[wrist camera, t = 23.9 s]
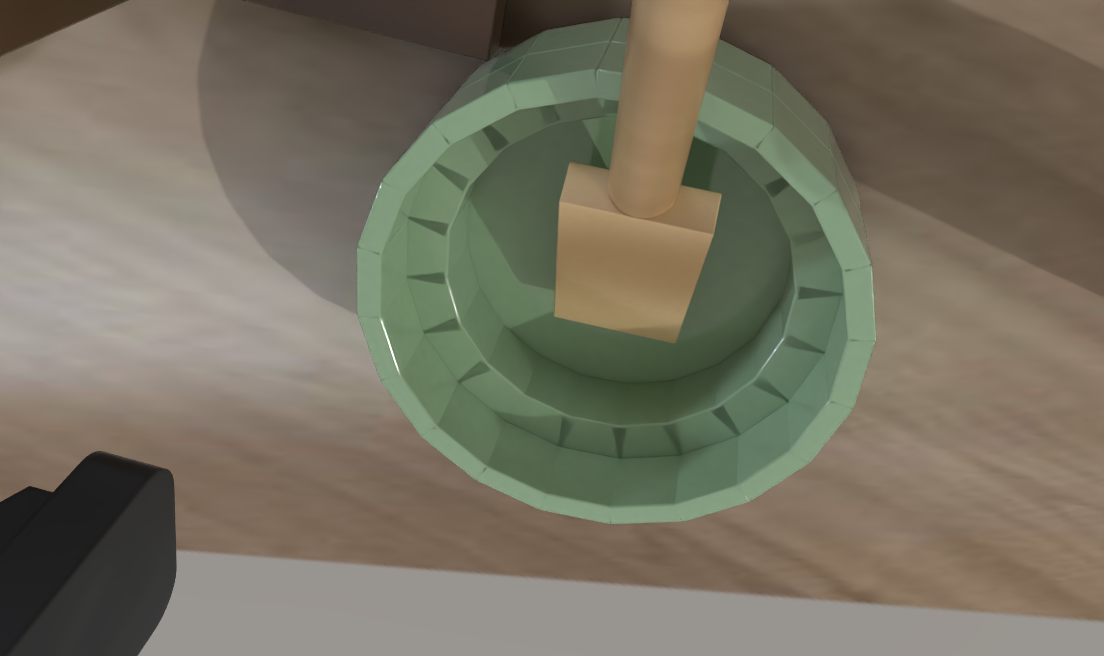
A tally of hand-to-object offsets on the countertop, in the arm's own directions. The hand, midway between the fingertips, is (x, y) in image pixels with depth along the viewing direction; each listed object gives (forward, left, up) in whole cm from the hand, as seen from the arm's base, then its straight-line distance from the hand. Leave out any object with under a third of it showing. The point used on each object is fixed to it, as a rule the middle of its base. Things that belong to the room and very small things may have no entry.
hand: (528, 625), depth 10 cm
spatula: (+1, -1, -16) cm, 16 cm away
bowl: (+6, -5, -24) cm, 26 cm away
